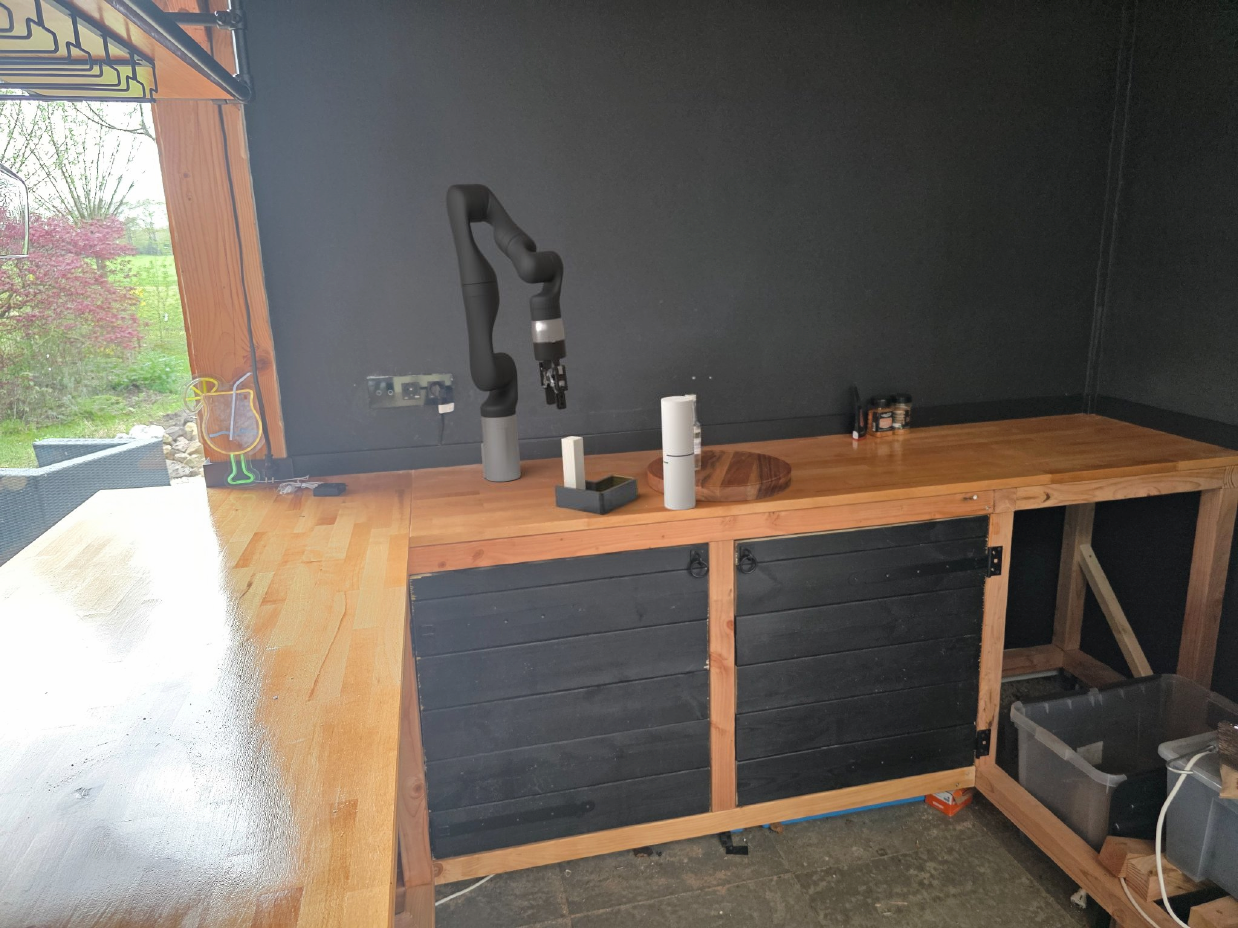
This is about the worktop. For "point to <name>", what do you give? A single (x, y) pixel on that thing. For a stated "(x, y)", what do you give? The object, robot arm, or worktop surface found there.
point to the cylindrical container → (678, 452)
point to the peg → (573, 462)
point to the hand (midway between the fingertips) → (556, 406)
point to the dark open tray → (599, 494)
